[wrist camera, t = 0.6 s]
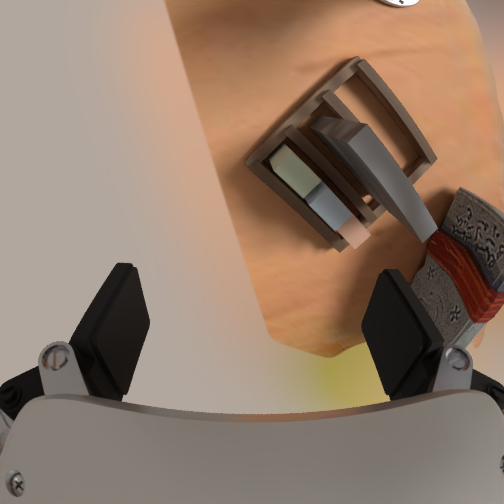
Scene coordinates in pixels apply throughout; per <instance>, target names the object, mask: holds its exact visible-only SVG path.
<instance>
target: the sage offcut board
mask: <svg viewBox="0 0 504 504" xmlns="http://www.w3.org/2000/svg"><path fill="white" fill-rule="evenodd" d="M269 160H270V163H271V165H272V168H273V170H274V171H275V172H276V173H277V174H278V175H279V176H280V177H281V178H282V179H283V180H284V181H285V182H287V183H288V184H289V185H290V186H291V187H292V188H293V189H294V190H295V191H296V192H297V193H298V194H299V195H300V196H301V197H302V198H304V197H305V196H306V195H307V194H308V193H309V192H310V191H312V190H313V189H314V188H315V187H316V186H317V185H318V184H319V183H320V182H321V180H320V178H319V177H318V176H317V175H316V174H315V173H314V172H313V171H312V170H311V169H310V168H309V167H308V166H307V165H306V164H305V163H304V162H303V161H302V160H301V159H300V158H299V157H298V156H297V155H296V154H295V153H294V152H293V151H292V150H291V149H290V148H289V147H288V146H286V145H285V144H284V143H283V144H282V145H281V146H280V147H279V148H278V149H277V150H276V151H275V152H274V153H273V154H272V155H271V156H270V157H269Z"/></svg>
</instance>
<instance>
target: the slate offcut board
mask: <svg viewBox="0 0 504 504" xmlns="http://www.w3.org/2000/svg"><path fill="white" fill-rule="evenodd" d="M320 180H321V179H320ZM305 199H306V201H307V203H308V204H309V206H310V207H311V208H312V209H313V210H314V211H315V212H316V213H317V214H318V215H319V216H320V217H322V218H323V219H324V220H325V221H326V222H327V223H328V225H329V226H330V227H331V228H332V229H333V230H334V231H336V230H337V229H338V228H339V227H340V226H341V225H342V224H343V223H344V222H345V221H347V220H348V219H349V218H350V217H351V216H352V215H353V214H352V213H351V212H350V211H349V209H348V208H347V207H346V206H345V205H344V204H343V203H342V201H341V200H340V199H339V198H338V197H337V196H336V195H335V194H334V193H333V191H332V190H331V189H330V188H329V187H328V186H327V185H326V184H325V183H324V182H323V181H322V180H321V182H320V183H319V184H318V185H317V186H316V187H315V188H314V189H313V190H312V191H310V192H309V193H308V194H307V195H306V196H305Z"/></svg>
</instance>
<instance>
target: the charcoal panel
mask: <svg viewBox="0 0 504 504" xmlns="http://www.w3.org/2000/svg"><path fill="white" fill-rule="evenodd" d="M308 128H309V129H310V130H311V131H312V132H313V133H314V134H315V135H316V136H317V137H318V138H319V139H320V140H321V141H322V142H323V143H324V144H325V145H326V146H327V147H328V148H329V149H330V150H331V152H332V153H333V154H334V155H335V156H336V157H337V158H338V159H339V160H340V161H341V162H342V164H343V165H344V166H345V167H346V168H347V169H348V170H349V171H350V173H351V174H352V175H353V176H354V177H355V178H356V179H357V181H358V182H359V183H360V184H361V185H362V187H363V188H364V189H365V190H366V191H367V193H368V194H369V195H370V196H371V197H373V198H374V199H375V200H376V201H377V202H378V203H380V204H381V205H382V206H383V207H384V208H385V209H387V210H388V211H389V212H390V213H391V214H392V215H393V216H394V217H395V218H397V219H398V220H399V221H400V222H401V223H402V224H403V225H404V226H405V227H406V228H407V229H408V230H409V231H410V232H412V233H413V234H414V235H415V236H416V237H417V238H418V239H419V240H420V241H421V242H422V243H423V242H424V241H426V240H427V239H428V238H429V237H430V236H431V235H432V234H433V233H434V232H435V231H436V230H437V229H438V227H437V225H436V224H435V222H434V220H433V218H432V217H431V215H430V213H429V211H428V210H427V208H426V206H425V205H424V203H423V201H422V200H421V198H420V197H419V195H418V193H417V192H416V190H415V189H414V187H413V186H412V184H411V182H410V181H409V179H408V178H407V176H406V175H405V174H404V172H403V171H402V169H401V168H400V166H399V165H398V163H397V162H396V161H395V159H394V158H393V157H392V155H391V154H390V152H389V151H388V150H387V148H386V147H385V146H384V144H383V143H382V142H381V141H380V139H379V138H378V137H377V136H376V134H375V133H374V132H373V131H372V129H371V128H370V127H369V126H368V124H364V123H360V122H355V121H350V120H344V119H339V118H333V117H327V116H320V117H318V118H317V119H316V120H315V121H314V122H313V123H312V124H311V125H310V126H309V127H308Z"/></svg>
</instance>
